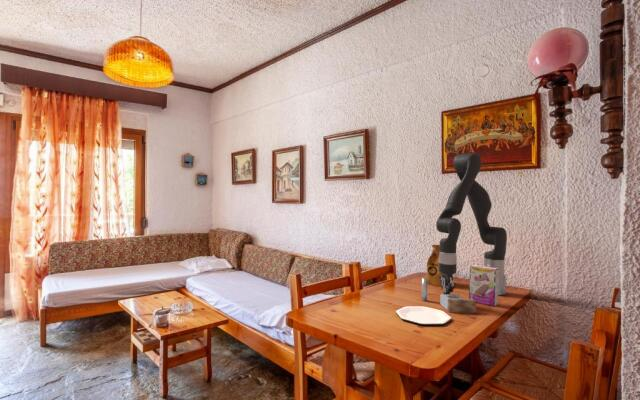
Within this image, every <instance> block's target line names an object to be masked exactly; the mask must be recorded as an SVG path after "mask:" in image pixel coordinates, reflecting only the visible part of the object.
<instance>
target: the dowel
mask: <svg viewBox="0 0 640 400" xmlns="http://www.w3.org/2000/svg"><path fill="white" fill-rule="evenodd" d="M428 285H429V284H428V279H427V278H426V277H423V278H421V301H422V302H427V301H428V290H429V289H428Z"/></svg>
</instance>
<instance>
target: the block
mask: <svg viewBox="0 0 640 400" xmlns="http://www.w3.org/2000/svg"><path fill="white" fill-rule="evenodd" d="M439 296H440V297H439V299H440V300H439V302H440V303H439V304H440V305H441V306H442V307H443V309H445V310H446V311H448V299H465V297H463V296H461V295H460V294H451V293H450V294H444V293H442V294H440V295H439Z"/></svg>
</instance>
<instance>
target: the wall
mask: <svg viewBox="0 0 640 400" xmlns="http://www.w3.org/2000/svg"><path fill="white" fill-rule="evenodd" d="M476 306H477V303H476V300H474V299H469V298H464V299H448V310H447V312H448V313H467V314H468V313H473V314H474V313H476V312H477V310H476V309H477V307H476Z"/></svg>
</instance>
